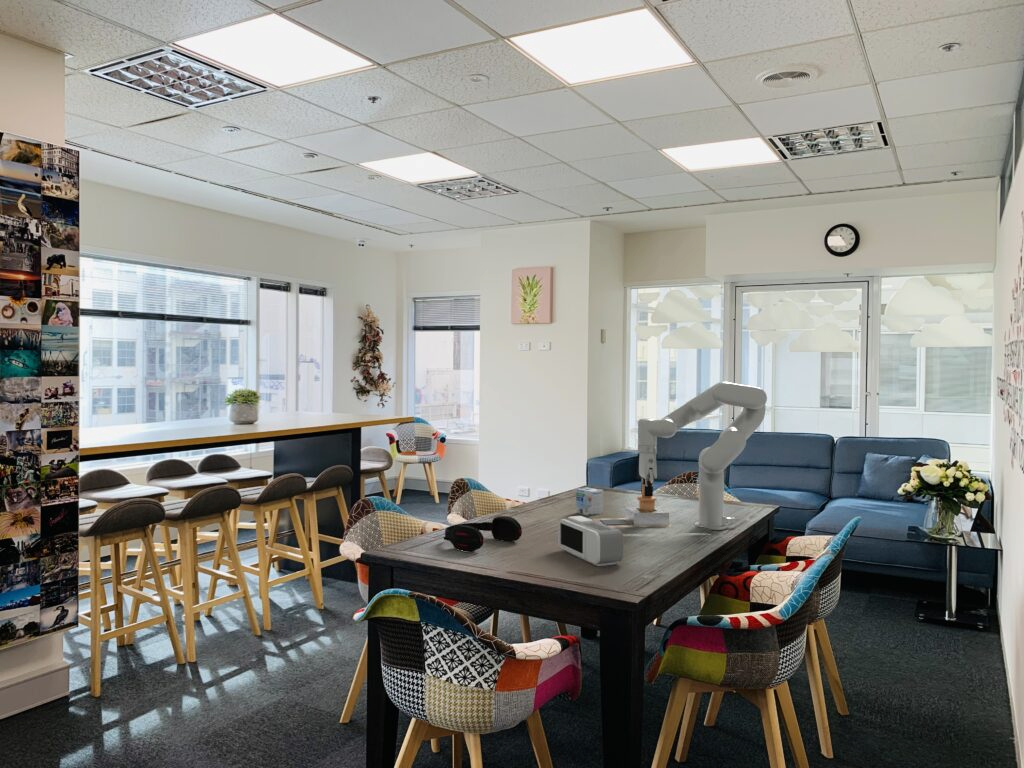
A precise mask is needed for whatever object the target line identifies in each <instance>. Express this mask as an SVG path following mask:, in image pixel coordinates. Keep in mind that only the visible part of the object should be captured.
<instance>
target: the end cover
mask: <svg viewBox="0 0 1024 768" xmlns="http://www.w3.org/2000/svg"><path fill="white" fill-rule="evenodd" d="M641 485H642V484H641ZM645 486H646V485H645V484H644V485H642V494H641V495H639V496H637V499H636V500H638V501H639V506H638V507H639V511H640V512H644V511H655V507H656V505H655V504H656V501H657V499H658V497H656V496H645Z"/></svg>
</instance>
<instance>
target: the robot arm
mask: <svg viewBox="0 0 1024 768" xmlns="http://www.w3.org/2000/svg"><path fill="white" fill-rule="evenodd" d="M767 401H768V396H767V392H766V391H765V390H764V389H763V388H760V387H757V386H751V385H745V384H739V383H734V382H729V381H719V382H717V383H715V384H714V385H713V386H710V387H708V388H707V389H706V390H704V391H703V392H701V393H699V394H698V395H697V396H694V397H693V398H691V399H690V400H688V401H687V402H686V403H685V404H683V405H681V406H680V407H678V408H677V409H675V410H673V411H672V412H670V413H668V414H666V416H664V417H663V418H661V419H655V418H640V419H639V420H638V421H637V453H638V455H639V459H638V460H639V461H638V462H639V463H638V472H639V473H638V474H639V476H640V477H641V481H640V482H641V484H640V485H641V488H640V489H641V490H640V491H641V495H642V485H644V484H645V485H646V486H645V496H652V497H654V496H653V495H654V480H655V479H657V478H658V468H657V467H658V466H657V456H656V455H657V453H658V449H657V448H658V447H657V445H658V437H659V438H664V439H669V438H672V437H674V436H675V435H676V433H677V432H678V431H679V430H681V429H682V428H685V427H686V426H687V425H689V424H691V423H694V422H696V421H699V420H702V419H704V418H705V417H707V416H708V415H710V414H712V413H713V412H715V411H717V410H718V409H719V408H722V407H723V406H724V405H728V406H733V407H737V408H738V407H740V408H742V411H741V413H739V415H738V416H737V417H736V418H735V419H734V420H733V421H732V422H731V423H730V424H729V425H727V427H726V428H725V429H723V430H722V432H721V433H720V434H719V437H718V439H717V440H716V441H715V442H714V443H713V444H712V445H711V446H709V447H705V448H703V449H702V450H701V451H700V453H699V457H698V521H696V522H695V523H694V525H695V526H697V527H700V528H705V529H707V530H709V531H721V530H727V529H728V526H729V525H728V524H729V523H731V524H732V523H733V524H734V523H736V521H737V520H736V517H728V516H725V515H724V512H725V511H724V510H725V509H724V506H725V504H724V503H725V502H724V500H725V498H724V494H725V493H724V492H725V491H724V489H725V469H726V468H727V467H728V466H729V465H730V464H731V463H732V462H733V461H734V460H735V459H736V458H737V457H738V456H739V455H740V454H741V453H742V452H743V451H744V449H745V448H746V445H747V440H748V439H749V438H750V437H751V436H752V434H754V433H755V432H756V430H757V429H758V428H759V427H760V426H761V425H762V424H763V421H764V418H765V416H766V410H767V409H766V407H767V406H766V403H767Z"/></svg>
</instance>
